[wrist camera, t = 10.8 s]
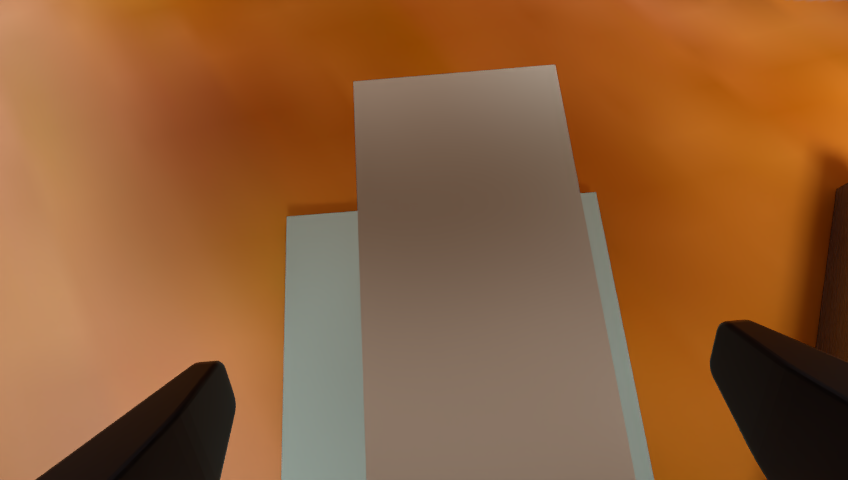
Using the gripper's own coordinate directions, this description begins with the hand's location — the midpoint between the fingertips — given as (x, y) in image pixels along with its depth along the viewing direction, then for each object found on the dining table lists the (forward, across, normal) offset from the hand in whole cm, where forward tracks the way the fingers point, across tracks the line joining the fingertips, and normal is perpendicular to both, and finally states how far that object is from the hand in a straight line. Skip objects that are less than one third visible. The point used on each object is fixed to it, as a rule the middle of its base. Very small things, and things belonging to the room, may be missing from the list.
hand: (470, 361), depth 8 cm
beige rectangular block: (+6, 0, +5) cm, 8 cm away
